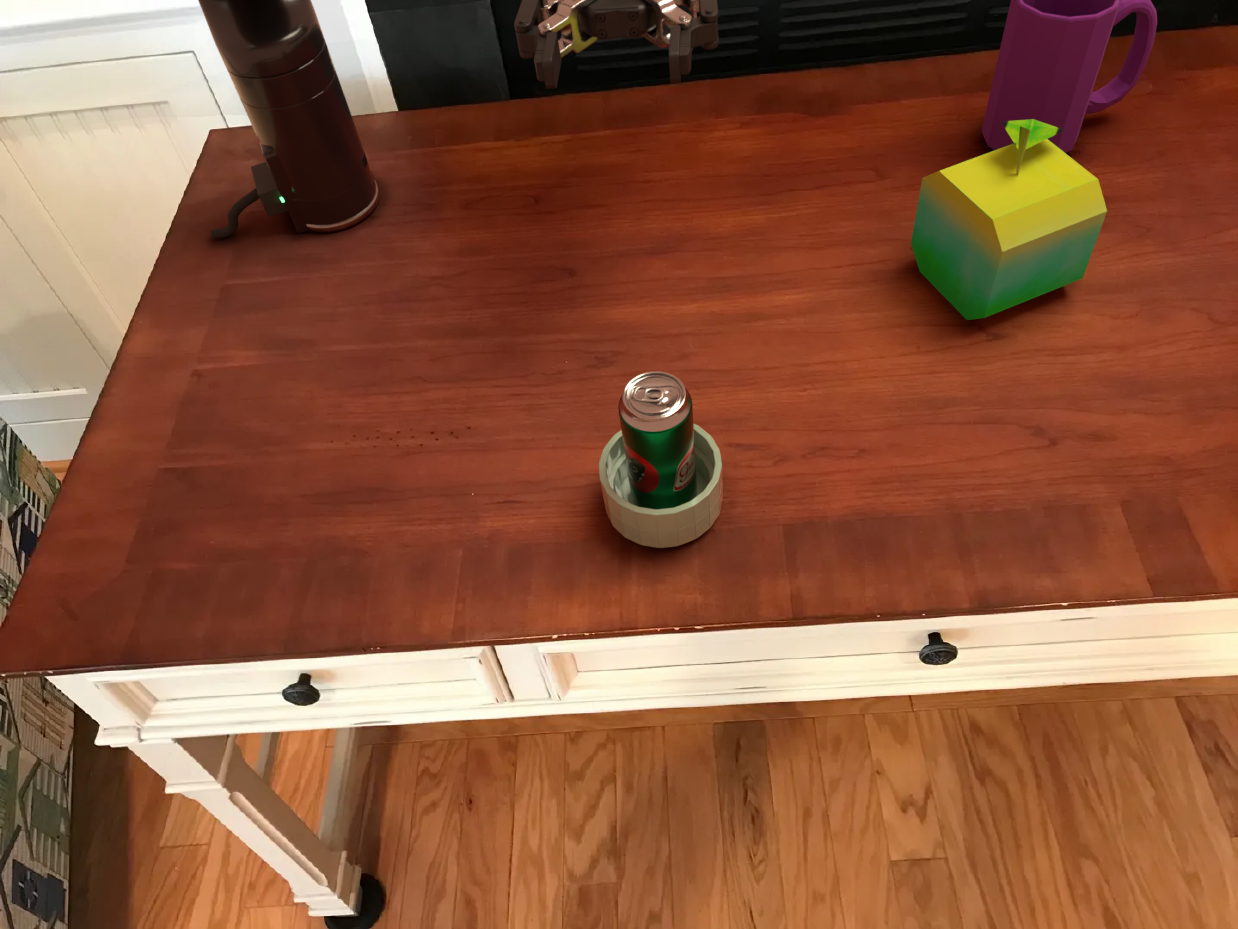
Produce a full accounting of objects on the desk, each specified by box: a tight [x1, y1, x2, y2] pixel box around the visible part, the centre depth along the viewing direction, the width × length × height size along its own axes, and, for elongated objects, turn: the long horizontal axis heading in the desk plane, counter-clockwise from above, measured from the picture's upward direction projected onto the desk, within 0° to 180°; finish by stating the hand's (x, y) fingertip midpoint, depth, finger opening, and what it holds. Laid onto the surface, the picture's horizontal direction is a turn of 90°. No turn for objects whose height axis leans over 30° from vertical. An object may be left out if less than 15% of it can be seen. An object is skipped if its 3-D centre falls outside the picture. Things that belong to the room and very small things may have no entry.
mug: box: [981, 0, 1158, 154], centre depth 93 cm, size 9×16×15 cm, turn 106°
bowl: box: [598, 423, 724, 549], centre depth 74 cm, size 9×9×5 cm
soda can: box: [618, 370, 697, 510], centre depth 71 cm, size 5×5×12 cm
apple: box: [910, 119, 1108, 321], centre depth 82 cm, size 11×10×15 cm
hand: (611, 73), depth 66 cm, fingers open, 8 cm apart
